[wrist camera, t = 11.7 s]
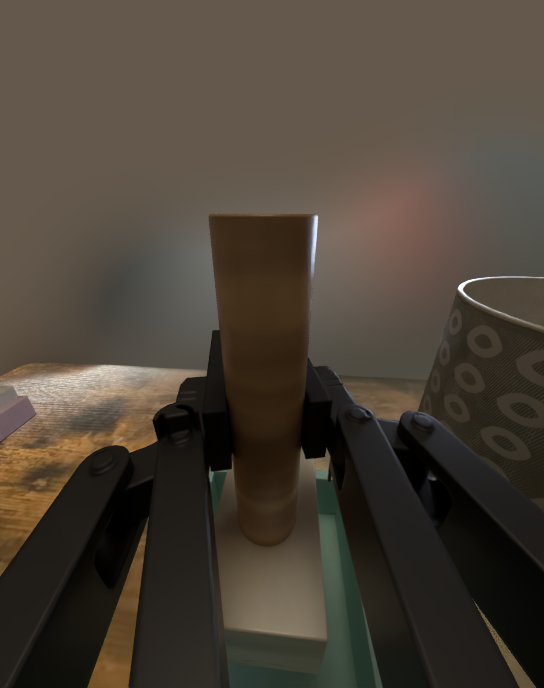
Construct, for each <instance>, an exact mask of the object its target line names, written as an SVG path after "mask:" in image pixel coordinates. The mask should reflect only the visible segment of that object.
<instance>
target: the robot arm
mask: <svg viewBox="0 0 544 688" xmlns="http://www.w3.org/2000/svg"><path fill="white" fill-rule="evenodd" d="M152 421H153V424H154V428H155V432H156V435H157V439H158V441H156V442H155V443H153V444H152V445H149V446H147V447H145V448H142V449H139V450H136V451H133V452H131V453H129V451H128V449H126V448H125V447H123V446H117V445H114V446H108V447H104V448H102V449H100V450H97V451H95V452H94V453H92V454H91V455H89V456H88V457H86V459H85V460H84V461H83V462H82V463H81V464H80V465H79V466H78V468H77V469H76V471H75V472H74V473H73V475H72V476H71V478H70V479H69V480H68V482H67V483H66V485H65V486H64V487H63V489H62V490H61V492H60V493H59V495H58V496H57V497H56V499H55V500H54V502H53V503H52V504H51V506H50V507H49V509H48V510H47V511H46V513H45V514H44V516H43V517H42V519H41V520H40V521H39V523H38V524H37V526H36V527H35V528H34V530H33V531H32V533H31V534H30V535H29V537H28V538H27V540H26V541H25V543H24V544H23V545H22V547H21V548H20V550H19V551H18V552H17V554H16V555H15V557H14V558H13V559H12V561H11V562H10V564H9V565H8V567H7V568H6V569H5V571H4V572H3V574H2V575H1V576H0V688H87V687H88V684H89V681H90V678H91V676H92V673H93V670H94V667H95V664H96V662H97V659H98V656H99V653H100V650H101V648H102V645H103V642H104V639H105V636H106V634H107V631H108V628H109V625H110V623H111V620H112V617H113V614H114V611H115V609H116V606H117V603H118V600H119V597H120V595H121V592H122V589H123V586H124V583H125V581H126V578H127V575H128V572H129V569H130V567H131V564H132V561H133V558H134V556H135V553H136V550H137V547H138V544H139V542H140V539H141V536H142V533H143V530H144V528H145V525H146V522H147V519H148V517H149V520H148V529H147V537H146V545H145V554H144V562H143V570H142V579H141V587H140V596H139V604H138V612H137V621H136V629H135V637H134V646H133V654H132V662H131V671H130V679H129V688H230V685H229V674H228V663H227V653H226V642H225V632H224V621H223V611H222V600H221V590H220V579H219V568H218V558H217V547H216V537H215V526H214V516H213V505H212V494H211V484H210V478H209V470H210V469H211V472H215V471H223V470H230V469H232V449H231V439H230V429H229V419H228V408H227V398H226V390H225V380H224V370H223V359H222V349H221V339H220V330H215V331H213V332H212V340H211V348H210V355H209V363H208V370H207V376H205V377H193V378H187V379H186V380H185V381H184V382H183V383H182V384H181V385H180V388H179V392H178V395H177V399H176V403H173V404H169V405H167V406H165V407H163V408H162V409H160V410H159V411H158V412H157V413H156V414H155V416H154V418H153V420H152ZM301 446H302V449H303V452H304V455H305V459H313V458H321V457H325V453H326V447H327V449H328V451H329V454H330V456H331V457H330V463H329V470H328V482H331V476H332V479H333V484H334V488H335V492H336V496H337V500H338V504H339V508H340V513H341V517H342V521H343V525H344V529H345V533H346V537H347V542H348V546H349V550H350V554H351V558H352V562H353V566H354V571H355V575H356V579H357V583H358V587H359V591H360V596H361V600H362V604H363V608H364V612H365V616H366V620H367V625H368V629H369V633H370V637H371V641H372V645H373V649H374V654H375V658H376V662H377V666H378V670H379V674H380V678H381V683H382V687H383V688H519V686H518V684H517V682H516V680H515V678H514V676H513V674H512V672H511V671H510V669H509V667H508V665H507V663H506V661H505V659H504V657H503V655H502V654H501V652H500V650H499V648H498V646H497V644H496V642H495V640H494V639H493V637H492V635H491V633H490V631H489V629H488V627H487V625H486V623H485V622H484V620H483V618H482V616H481V614H480V612H479V610H478V608H477V606H476V605H475V603H476V604H477V605H478V607H479V608H480V610H481V611H482V612H483V614H484V615H485V617H486V618H487V619H488V621H489V622H490V624H491V625H492V626H493V628H494V629H495V631H496V632H497V633H498V635H499V636H500V638H501V639H502V640H503V642H504V643H505V644H506V646H507V647H508V649H509V650H510V651H511V653H512V654H513V656H514V657H515V658H516V660H517V661H518V663H519V664H520V665H521V667H522V668H523V670H524V671H525V672H526V674H527V675H528V677H529V678H530V679H531V681H532V682H533V684H534V685H535V686H536V688H544V511H543V510H542V509H540V508H539V507H538V506H537V505H536V504H535V503H533V502H532V501H531V500H530V499H529V498H528V497H526V496H525V495H524V494H523V493H522V492H521V491H519V490H518V489H517V488H516V487H515V486H514V485H513V484H511V483H510V482H509V481H508V480H507V479H506V478H504V477H503V476H502V475H501V474H500V473H499V472H497V471H496V470H495V469H494V468H493V467H492V466H490V465H489V464H488V463H487V462H486V461H485V460H483V459H482V458H481V457H480V456H479V455H478V454H476V453H475V452H474V451H473V450H472V449H471V448H469V447H468V446H467V445H466V444H465V443H464V442H462V441H461V440H460V439H459V438H458V437H457V436H455V435H454V434H453V433H452V432H451V431H450V430H448V429H447V428H446V427H445V426H444V425H443V424H441V423H440V422H439V421H438V420H436V419H435V418H433V417H432V416H430V415H427V414H425V413H422V412H417V411H408V412H405V413H403V414H402V416H401V418H400V421H394V420H387V419H381V418H376V416H375V415H374V414H373V412H372V411H370V410H369V409H367V408H366V407H364V406H361V405H358V404H357V403H356V402H355V400H354V399H353V397H352V396H351V394H350V393H349V392H348V390H347V389H346V387H345V386H344V385H343V383H342V381H341V380H340V379H339V377H338V375H337V374H336V372H335V371H333V370H332V369H331V368H329V367H327V366H318V367H313V365H312V363H311V362H310V360H309V358H308V360H307V374H306V388H305V401H304V415H303V428H302V442H301ZM429 471H431V472H432V473H433V474H434V475H435V476H436V477H437V479H436V478H434V477H433V476H432V475H431V474H430V473H429ZM472 598H473V599H472ZM473 600H474V601H475V603H474V601H473Z"/></svg>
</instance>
